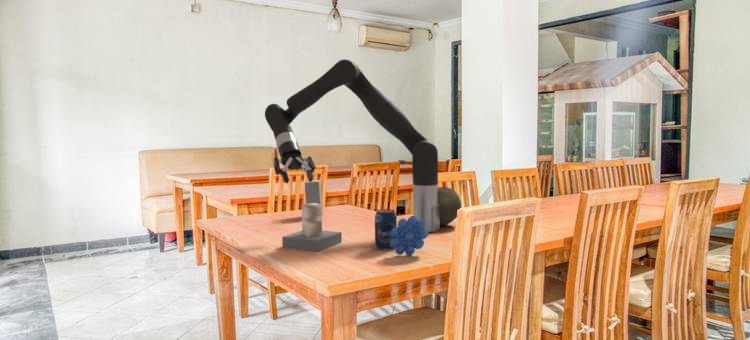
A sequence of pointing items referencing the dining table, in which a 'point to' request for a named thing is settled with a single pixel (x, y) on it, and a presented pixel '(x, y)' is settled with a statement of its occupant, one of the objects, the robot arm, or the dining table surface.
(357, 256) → the dining table surface
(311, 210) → the grey piece
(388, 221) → the soda can
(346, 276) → the dining table surface
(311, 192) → the grey rectangular block
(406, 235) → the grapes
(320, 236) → the slate base
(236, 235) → the dining table surface
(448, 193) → the dark grey ball
